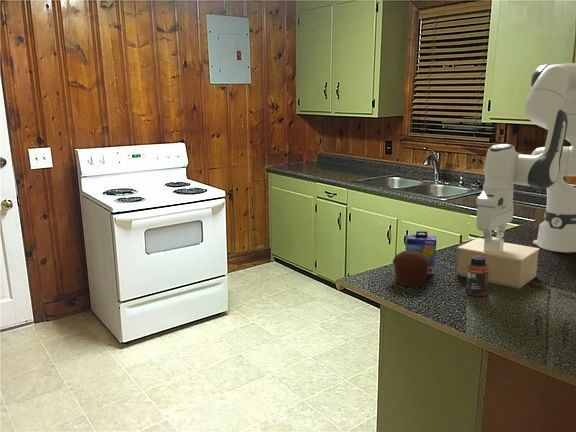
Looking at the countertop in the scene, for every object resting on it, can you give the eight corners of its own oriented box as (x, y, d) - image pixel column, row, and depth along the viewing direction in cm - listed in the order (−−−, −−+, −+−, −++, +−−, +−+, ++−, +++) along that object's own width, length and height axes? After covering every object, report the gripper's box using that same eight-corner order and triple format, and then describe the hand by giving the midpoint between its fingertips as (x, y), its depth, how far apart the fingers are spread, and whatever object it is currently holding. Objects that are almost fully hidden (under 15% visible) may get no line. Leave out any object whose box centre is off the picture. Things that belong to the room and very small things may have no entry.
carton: (476, 264, 181) (478, 239, 179) (536, 276, 167) (538, 250, 165) (457, 274, 170) (458, 249, 168) (518, 288, 157) (521, 261, 155)
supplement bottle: (485, 290, 156) (488, 254, 153) (488, 297, 150) (491, 260, 148) (465, 289, 157) (467, 253, 155) (467, 296, 152) (469, 259, 149)
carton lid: (477, 239, 179) (478, 226, 178) (539, 250, 165) (540, 236, 164) (457, 249, 168) (458, 235, 167) (521, 261, 154) (522, 246, 153)
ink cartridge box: (405, 273, 172) (406, 231, 169) (404, 268, 178) (406, 227, 175) (435, 274, 171) (437, 232, 167) (434, 269, 176) (436, 228, 173)
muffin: (432, 278, 167) (433, 249, 165) (426, 290, 157) (427, 258, 155) (395, 274, 172) (396, 245, 170) (388, 285, 162) (388, 254, 160)
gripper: (500, 191, 169) (497, 232, 172) (473, 200, 155) (470, 244, 158) (520, 193, 165) (516, 235, 168) (494, 202, 151) (491, 247, 154)
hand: (494, 239), depth 163 cm, fingers open, 8 cm apart
